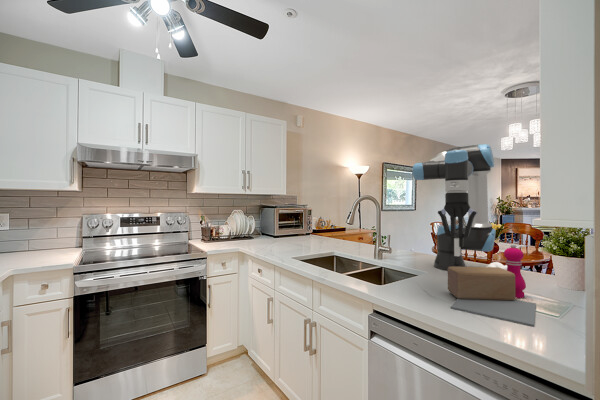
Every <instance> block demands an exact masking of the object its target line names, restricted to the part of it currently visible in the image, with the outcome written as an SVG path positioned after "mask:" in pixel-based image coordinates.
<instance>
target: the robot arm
mask: <svg viewBox="0 0 600 400" xmlns="http://www.w3.org/2000/svg"><path fill="white" fill-rule="evenodd" d="M494 159H495V158H494V154H493V150H492V148H491V145H490V144H488V143H484V144H475V145H474V144H473V145H466V146H457V147H452V148H448V149H446V150H444V151H441V152H439V153H438V154H436V155H435V157H433V158H431V159H429V160H428V161H425V162H424V161H423V162H417V163H416V162H415V163H414V164H413V166H412V177H413V179H414V180H415V181H425V180H426V181H427V180H429V181H430V180H442V179H443V180H444V186H445V189H444V190H445V194H444V198H445V199H444V200H445V204H444V206H443V209H440V210H437V214H438V215H439V217H440V218H441V223H442V226H439V227H438V228H437V232H436V241H437V242H436V243H437V247H436V248H437V252H436V256H435V258H434V262H433V263H434V264H433V265H434V266H433V267H434V268H436V269H440V270H444V271H448V267H466V263H465V260H464V256H463V254H462V253H463V252H462V250H464V251H476V252H481V253H482V252H489V253H490V252H492V251H493V249H494V246H495V239H496V231H497V230H496V228H493V225H492V224H491V223H490V222H489V201H488V199H489V197H488V175H489V174H490V172H491V169H492V168H493V167H495V161H494ZM447 214H448V216H449V217H450V218H449V219H450V224H449V222H448V218H447ZM466 215H468V219H467V222H466V223H465V224H464V220H465V218H464V217H465V216H466ZM456 219H457V220H458V221H457V220H456ZM457 222H458V223H457ZM456 223H457V224H456Z"/></svg>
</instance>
